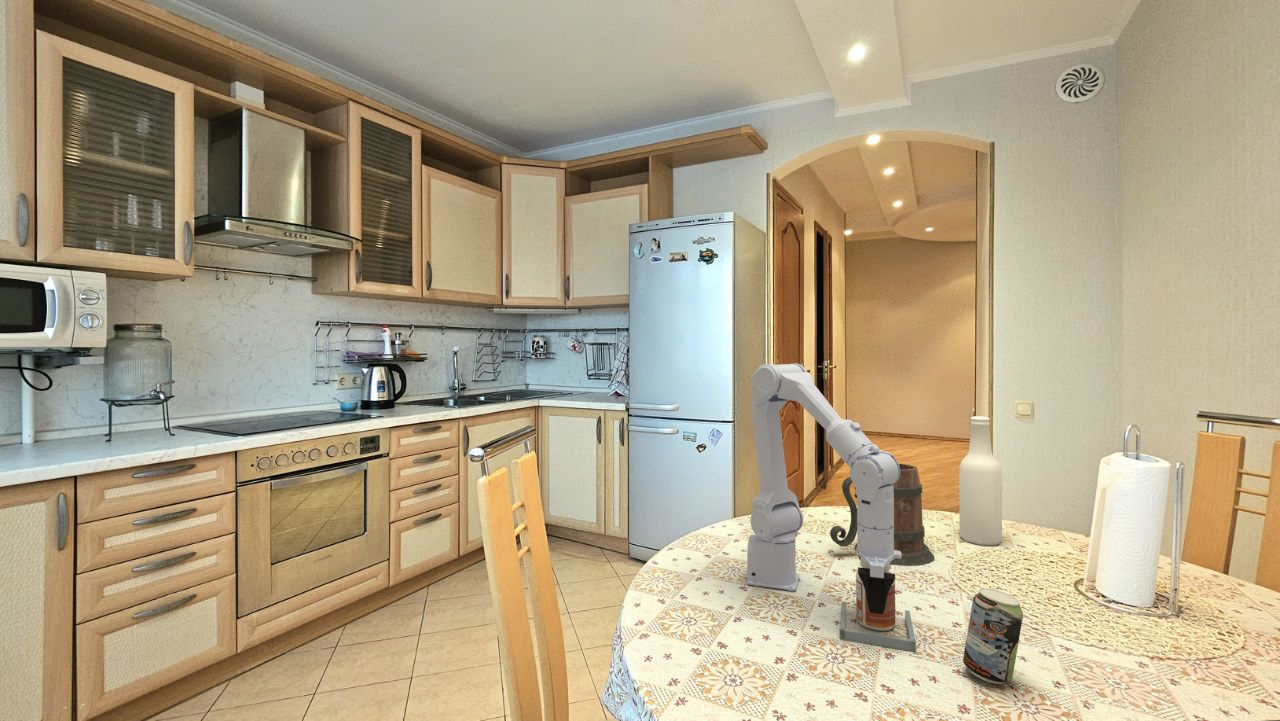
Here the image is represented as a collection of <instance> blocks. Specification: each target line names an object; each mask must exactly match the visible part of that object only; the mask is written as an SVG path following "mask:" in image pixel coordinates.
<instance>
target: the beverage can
mask: <svg viewBox="0 0 1280 721" xmlns="http://www.w3.org/2000/svg"><path fill="white" fill-rule="evenodd" d="M1023 619H1024V612H1023V609H1022V606H1021V602H1020V600H1019V599H1018V598H1016V597H1014V596H1013V595H1010V594H1009V593H1007V592H1006V593H1005V592H1003V591H1000V590H996V589H993V588H987V587H986V588H985V587H983V588H979V590H978V592H977V593H976V594H974V596H973V599H972V604H971V609H970V615H969V621H968V622H969V623H968V628H967V633H966V640H965V645H964V652H963V658H962V662H963V665H965V667H966V668H967V670H968V671H969V672H970V673H971V674H972V675H974V676H975V677H977V678H978V679H980V680H982V681H984V682H988V683H990V684H995V685H1003V684H1006V683H1010V682H1012V681H1013V678H1014V671H1015V666H1016V659H1017V653H1018V648H1019V640H1020V636H1021V630H1022V624H1023Z"/></svg>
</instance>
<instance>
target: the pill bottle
mask: <svg viewBox="0 0 1280 721" xmlns="http://www.w3.org/2000/svg"><path fill="white" fill-rule="evenodd" d="M859 561H860V568H869V569H870V567H869V565H868V564H867V563H866V562H865V561H864V560H863V559H862V558H860V559H859ZM890 570H891V565H890V563H889V564H888V565H887V566H886V567H885V568H884V572H885V573H892V572H891V571H890ZM855 595H856V596H855V597H856V598H855V599H856V607H855V608H856V610H855V611H856V621H857V622H858V624H859V625H861V626H863V627H865V628H867V629H869V630H873V631H880V632H883V631H884V632H885V631H891V630H892V629H894V628H895V626H896V581H894V583H893V584H892V586H891V587H890V590H889V592H888V596H887V600H886V606H885V610H884V613H883V614H877V613H870V611H869V608H868V603H867V598H866V592H865V588H864V585H863V583H862V581H861V579H860V577H859V575H858V570H857V571H856V572H855Z"/></svg>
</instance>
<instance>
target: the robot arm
mask: <svg viewBox="0 0 1280 721" xmlns="http://www.w3.org/2000/svg"><path fill="white" fill-rule="evenodd" d="M750 381H751V390H752V396H751V401H750V408H751V415H752V416H751V417H752V424H753V426H752V427H753V434H754V443H755V451H756V460H757V462H756V463H757V469H758V470H757V472H758V479H759V487H760V488H759V489H760V490H759V491H758V493H756V495H755V497H754V498H753V500H752V501H751V507H752V508H751V509H752V510H751V513H750V514H751V515H750V518H749V520H750V527H751V529H752V531H753V533H754V534H749V536H748V540H747V551H746V552H747V554H746V557H747V560H746V561H747V565H746V566H747V568H746V569H747V570H746V571H747V580H746V584H747V585H749V586H756V587H764V588H772V589H778V590H786V591H791V592H796V590H797V587H798V584H799V580H800V573H797V572H796V568H797V567H796V559H797V558H796V556H797V555H796V538H797V537H798V532H799V531H800V530H801V529H802V527H803V526H804V514H803V511H802V510H801V507H800V505H799V502H798V496H797V495H796V494H795V493H794V492H793V491H792V490H791V489H789V486H788V485H789V484H788V477H787V466H786V459H785V452H784V450H785V449H784V441H783V434H782V427H781V426H782V425H781V418H780V416H781V415H780V411H781V410H782V408H784V406H785V405H786V403H787V402H788V401H794V402H798V404H800V406H801V407H803V408H804V409H805V411H806V412H807V413H809V415H810V416H812V418H813V419H814V420H816V422H817V423H818V424H819V425H820V426H821V427H822V428H824V430H826V433H825V440H826V442H827V443H828V445H830V446H831V447H832V449H833V450H834V451H835V452H836V454H838V455H839V457H840V458H841V459H842V460H843V462H844V463H845V464H846V465H847V467H849V468H850V469H849V470H848V473H849V477H851V480H852V482H853V483H852V484H853V485H854V489H855V488H856V490H855V492H856V495H857V498H856V500H857V502H856V507H857V534H856V536H857V538H856V539H857V543H856V544H857V547H856V551H855V553H856V554H857V557H858V558H859V560H860V558H862V559H863V560H864V561H865V562H866V563H867V564H868V565H869V567H870V569H869V568H862V567H861V566H860V567H859V566H858V567H857V571H858V575H859V577H860V579H861V581H862V583H863V585H864V588H865V592H866V598H867V603H868V608H869V611H870V613H877V614H883V613H884V610H885V606H886V600H887V596H888V592H889V590H890V587H891V586H892V584H893V583H894V581H895V580H896V573H892V572H891V573H885V572H884V568H885V567H886V566H887V565H888V564H889V563H891V561H892V560H893V559H894V558H898V559H900V558H902V554H901V552H900V551H897V550H894V485H892V484H894V483H896V482H897V481H898V479H899V477H900V466H899V464H900V463H899V462H898V460H897V459H896V457H895V455H894V454H892V453H891V452H888V451H886V450H881V449H880V447H878V445H877V444H874V443H873V441H871V440H870V439H869V438H868V437H867V435H866V434H865V433H864V431H862V430H861V428H862V426H861V425H860V423H859V422H858V421H857V422H856V421H855V422H854V421H853V420H851V419H847V418H846V419H845V418H841V417H840V415H839V414H838V413H837V412H836V410H835V409H834V407H833V406H832V405H831V403H830V402H829V401H828V400H827V398H825V396H824V395H823V393H821V391H820V390H819V388H818V387H817V386H816V385H815V384H814V382H813V376H812V375H811V374H810V373H809V372H808V371H807V370H806V369H805V367H804V366H803V365H802V364H799V363H797V362H795V363H792V362H791V363H790V364H788V363H787V364H786V363H785V364H784V363H783V364H769V363H765V364H762V365H759V367H758V368H757V369H756V370H755V371H754V373H753V374H752V375H751V377H750ZM886 486H887V487H886ZM895 582H896V581H895Z"/></svg>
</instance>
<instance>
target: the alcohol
mask: <svg viewBox="0 0 1280 721" xmlns="http://www.w3.org/2000/svg"><path fill="white" fill-rule="evenodd" d="M970 420H971V421H970V424H971V425H970V426H971V428H970V433H969V434H970V435H969V437H970V438H969V450H968V452H967V454H966V455H965V457H963V458H962V460H961V461H960V464H959V468H958V471H959V472H958V473H959V476H958V477H959V491H958V492H959V495H958V496H959V500H958V501H959V509H958V510H959V536H960V538H961V539H962V540H963V541H964V542H967V543H970V544H973V545H978V546H984V547H985V546H987V547H989V546H990V547H991V546H992V547H993V545H995V546H998V545H1000V543H1001V542H1002V540H1003V521H1002V520H1003V470H1002V467H1001V464H1000V463H999V462H998V461H999V460H997V459H996V457H994V454H993V452H992V442H991V441H992V440H991V432H990V431H991V430H990V425H991V422H990V420H991V418H989V417H988V416H979V415H977V416H976V415H974V416H971V417H970Z"/></svg>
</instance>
